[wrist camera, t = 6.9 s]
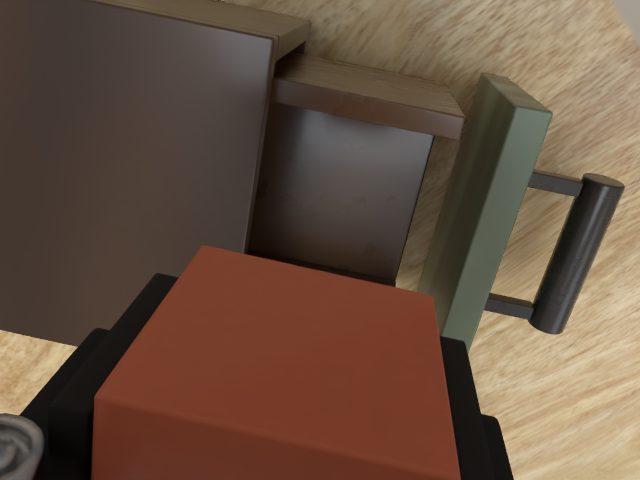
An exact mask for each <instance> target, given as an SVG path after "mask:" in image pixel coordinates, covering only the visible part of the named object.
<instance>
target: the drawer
mask: <svg viewBox="0 0 640 480" xmlns="http://www.w3.org/2000/svg"><path fill="white" fill-rule="evenodd" d="M552 116H553V113H552V112H551V111H550V110H548V109H547V108H546V107H544V106H543V105H542V104H541V103H539V102H538V101H537V100H535V99H534V98H533V97H532V96H530V95H529V94H528V93H526V92H525V91H524V90H523V89H521V88H520V87H519V86H517V85H516V84H515V83H514V82H512V81H511V80H510V79H508V78H507V77H502V76H497V75H492V74H487V73H481V75H480V78H479V82H478V85H477V89H476V92H475V95H474V99H473V102H472V106H471V109H470V112H469V116H468V119H467V123H466V126H465V130H464V133H463V136H462V140H461V143H460V147H459V150H458V153H457V157H456V160H455V164H454V167H453V170H452V174H451V177H450V181H449V184H448V188H447V191H446V194H445V198H444V201H443V205H442V208H441V211H440V215H439V218H438V222H437V225H436V228H435V232H434V235H433V239H432V242H431V246H430V249H429V252H428V256H427V259H426V263H425V266H424V269H423V273H422V276H421V280H420V283H419V287H418V290H417V292H418V293H422V294H427V295H430V296H432V297H433V298H434V305H435V311H436V318H437V325H438V331H439V336H444V337H448V338H453V339H457V340H462V341H464V342H465V344H466V348H467V353H469V350H470V347H471V344H472V341H473V339H474V336H475V333H476V330H477V327H478V324H479V322H480V319H481V316H482V313H483V310H486V311H491V312H495V313H500V314H505V315H509V316H514V317H519V318H523V319H527V320H528V322H529V323H530V324H531V325H532V326H533V327H535V328H536V329H538V330H540V331H542V332H545V333H548V334H560V333H562V332H563V331H564V328H565V326H566V324H567V321H568V319H569V317H570V314H571V312H572V310H573V307H574V305H575V303H576V300H577V298H578V296H579V293H580V291H581V289H582V286H583V284H584V282H585V279H586V277H587V275H588V272H589V270H590V268H591V265H592V263H593V261H594V258H595V256H596V254H597V251H598V249H599V247H600V245H601V242H602V240H603V238H604V235H605V233H606V231H607V228H608V226H609V224H610V221H611V219H612V217H613V214H614V212H615V210H616V207H617V205H618V203H619V200H620V198H621V196H622V193H623V191H624V189H625V186H624V184H622V183H621V182H619V181H617V180H615V179H612V178H610V177H607V176H603V175H599V174H593V173H586V174H584V175H583V177H582V179H581V180H580V179H579V178H575V177H570V176H565V175H560V174H555V173H551V172H546V171H541V170H536V169H534V167H535V164H536V161H537V158H538V155H539V152H540V150H541V147H542V144H543V141H544V138H545V135H546V133H547V130H548V127H549V124H550V121H551V119H552ZM465 120H466V117H465V115H464V114H463V112H462V110H461V109H460V107H459V105H458V103H457V102H456V100H455V98H454V97H453V95H452V93H451V92H450V90H449V88H448V87H447V85H446V84H445V83H440V82H436V81H431V80H426V79H421V78H416V77H411V76H406V75H402V74H397V73H392V72H387V71H382V70H377V69H373V68H368V67H363V66H358V65H353V64H348V63H343V62H339V61H334V60H329V59H324V58H319V57H314V56H309V55H305V54H300V53H295V52H289V53H287V54H286V55H285V56H283V57H282V58H280V59H279V60H277V61H276V62H275V68H274V74H273V81H272V88H271V95H270V102H269V109H268V116H267V122H266V129H265V136H264V143H263V150H262V157H261V164H260V170H259V177H258V184H257V191H256V198H255V205H254V212H253V218H252V225H251V232H250V239H249V246H248V253H247V255H251V256H256V257H260V258H265V259H269V260H274V261H278V262H283V263H287V264H292V265H296V266H301V267H305V268H310V269H314V270H319V271H323V272H328V273H332V274H337V275H341V276H346V277H350V278H355V279H359V280H364V281H368V282H373V283H377V284H382V285H386V286H391V287H395V288H396V282H395V280H396V277H397V273H398V269H399V266H400V262H401V258H402V255H403V251H404V247H405V244H406V240H407V236H408V233H409V229H410V225H411V222H412V218H413V214H414V211H415V207H416V203H417V200H418V196H419V192H420V189H421V185H422V181H423V178H424V174H425V170H426V167H427V163H428V159H429V156H430V152H431V148H432V145H433V141H434V137H435V136H438V137H443V138H448V139H452V140H459V139H460V137H461V134H462V131H463V127H464V124H465ZM527 187H531V188H536V189H541V190H545V191H550V192H555V193H560V194H565V195H569V196H574V199H573V202H572V204H571V207H570V210H569V212H568V215H567V217H566V220H565V222H564V225H563V227H562V230H561V232H560V235H559V237H558V240H557V243H556V245H555V248H554V250H553V253H552V255H551V258H550V260H549V263H548V265H547V268H546V270H545V273H544V276H543V278H542V281H541V283H540V286H539V288H538V291H537V293H536V296H535V298H534V301H533V303H532V302H530V301H526V300H521V299H516V298H512V297H507V296H502V295H498V294H493V293H490V291H491V288H492V285H493V282H494V279H495V277H496V274H497V271H498V268H499V265H500V262H501V260H502V257H503V254H504V251H505V248H506V245H507V243H508V240H509V237H510V234H511V231H512V229H513V226H514V223H515V220H516V217H517V214H518V212H519V209H520V206H521V203H522V200H523V198H524V195H525V192H526V189H527Z"/></svg>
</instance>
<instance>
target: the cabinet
mask: <svg viewBox="0 0 640 480" xmlns="http://www.w3.org/2000/svg"><path fill="white" fill-rule="evenodd" d="M310 28H311V20H308V19H303V18H298V17H293V16H288V15H283V14H279V13H274V12H269V11H264V10H259V9H254V8H249V7H244V6H240V5H235V4H230V3H225V2H220V1H215V0H0V330H4V331H8V332H13V333H17V334H22V335H26V336H31V337H35V338H40V339H45V340H49V341H54V342H58V343H63V344H67V345H72V346H76V347H78V346H79V345H80V344H81V343H82V342H83V341H84V339H85V338H86V337H87V336H88V335H89V334H90V333H91V332H92V331H93V330H94V329H96V328H102V329H106V330H110V329H111V328H112V327H113V326H114V324H115V323H116V322H117V321H118V319H119V318H120V317H121V316H122V315H123V313H124V312H125V311H126V310H127V308H128V307H129V306H130V305H131V303H132V302H133V301H134V300H135V298H136V297H137V296H138V295H139V293H140V292H141V291H142V290H143V289H144V287H145V286H146V285H147V284H148V282H149V281H150V280H151V279H152V277H153V276H154V275H155V274H156V273H162V274H166V275H170V276H175V277H180V276H181V274H182V273H183V271H184V270H185V269H186V267H187V266H188V264H189V263H190V262H191V260H192V259H193V257H194V256H195V255H196V253H197V252H198V250H199V249H200V248H201V246H205V245H206V246H211V247H215V248H220V249H224V250H229V251H233V252H238V253H242V254H247V253H248V246H249V239H250V232H251V225H252V218H253V212H254V205H255V198H256V191H257V184H258V177H259V170H260V164H261V157H262V150H263V143H264V136H265V129H266V122H267V116H268V109H269V102H270V95H271V88H272V81H273V74H274V68H275V62H276V61H277V60H279V59H280V58H282V57H283V56H285V55H286V54H287V53H289V52H295V53H300V54H305V55H306V52H307V46H308V40H309V34H310Z"/></svg>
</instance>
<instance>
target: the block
mask: <svg viewBox="0 0 640 480" xmlns="http://www.w3.org/2000/svg"><path fill="white" fill-rule="evenodd" d="M91 480H461V476H460V469H459V463H458V456H457V450H456V443H455V437H454V430H453V423H452V417H451V410H450V404H449V397H448V390H447V384H446V377H445V371H444V364H443V358H442V351H441V344H440V338H439V331H438V325H437V318H436V311H435V305H434V298H433V297H432V296H430V295H427V294H422V293H418V292H413V291H409V290H404V289H400V288H395V287H391V286H386V285H382V284H377V283H373V282H368V281H364V280H359V279H355V278H350V277H346V276H341V275H337V274H332V273H328V272H323V271H319V270H314V269H310V268H305V267H301V266H296V265H292V264H287V263H283V262H278V261H274V260H269V259H265V258H260V257H256V256H251V255H247V254H242V253H238V252H233V251H229V250H224V249H220V248H215V247H211V246H206V245H205V246H201V248H200V249H199V250H198V252H197V253H196V255H195V256H194V257H193V259H192V260H191V262H190V263H189V264H188V266H187V267H186V269H185V270H184V271H183V273H182V274H181V276H180V277H179V278H178V280H177V281H176V283H175V284H174V285H173V287H172V288H171V290H170V291H169V292H168V294H167V295H166V297H165V298H164V299H163V301H162V302H161V304H160V305H159V306H158V308H157V309H156V311H155V312H154V313H153V315H152V316H151V318H150V319H149V320H148V322H147V323H146V325H145V326H144V327H143V329H142V330H141V332H140V333H139V334H138V336H137V337H136V339H135V340H134V341H133V343H132V344H131V346H130V347H129V348H128V350H127V351H126V353H125V354H124V355H123V357H122V358H121V359H120V361H119V362H118V364H117V365H116V366H115V368H114V369H113V371H112V372H111V373H110V375H109V376H108V378H107V379H106V380H105V382H104V383H103V385H102V386H101V387H100V389H99V390H98V392H97V393H96V395H95V397H94V420H93V447H92V473H91Z"/></svg>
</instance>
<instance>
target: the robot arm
mask: <svg viewBox="0 0 640 480" xmlns="http://www.w3.org/2000/svg"><path fill="white" fill-rule="evenodd" d="M178 278H179V277H175V276H170V275H166V274H162V273H156V274H155V275H154V276H153V277H152V279H151V280H150V281H149V282H148V284H147V285H146V286H145V287H144V289H143V290H142V291H141V292H140V293H139V295H138V296H137V297H136V298H135V300H134V301H133V302H132V303H131V305H130V306H129V307H128V308H127V310H126V311H125V312H124V313H123V315H122V316H121V317H120V318H119V319H118V321H117V322H116V323H115V324H114V326H113V327H112V328H111V329H110V330H106V329H102V328H96V329H94V330H93V331H92V332H91V333H90V334H89V335H88V336H87V337H86V338H85V339H84V341H83V342H82V343H81V344H80V345H79V346H78V348H77V349H76V350H75V351H74V352H73V353H72V355H71V356H70V357H69V358H68V359H67V360H66V362H65V363H64V364H63V365H62V366H61V367H60V369H59V370H58V371H57V372H56V373H55V374H54V376H53V377H52V378H51V379H50V380H49V381H48V383H47V384H46V385H45V386H44V387H43V388H42V390H41V391H40V392H39V393H38V394H37V395H36V397H35V398H34V399H33V400H32V401H31V402H30V404H29V405H28V406H27V407H26V408H25V409H24V411H23V412H22V413H21V414H20V415H13V414H7V413H3V414H0V480H91V473H92V447H93V420H94V397H95V395H96V393H97V392H98V390H99V389H100V387H101V386H102V385H103V383H104V382H105V380H106V379H107V378H108V376H109V375H110V373H111V372H112V371H113V369H114V368H115V366H116V365H117V364H118V362H119V361H120V359H121V358H122V357H123V355H124V354H125V353H126V351H127V350H128V348H129V347H130V346H131V344H132V343H133V341H134V340H135V339H136V337H137V336H138V334H139V333H140V332H141V330H142V329H143V327H144V326H145V325H146V323H147V322H148V320H149V319H150V318H151V316H152V315H153V313H154V312H155V311H156V309H157V308H158V306H159V305H160V304H161V302H162V301H163V299H164V298H165V297H166V295H167V294H168V292H169V291H170V290H171V288H172V287H173V285H174V284H175V283H176V281H177V280H178ZM439 338H440V344H441V351H442V358H443V364H444V371H445V377H446V384H447V390H448V397H449V404H450V410H451V417H452V423H453V430H454V437H455V443H456V450H457V456H458V463H459V469H460V476H461V480H514V479H513V475H512V471H511V467H510V463H509V459H508V455H507V452H506V448H505V444H504V440H503V436H502V432H501V428H500V425H499V422H498V420H497V419H496V418H495V417H492V416H488V415H483V414H481V412H480V407H479V403H478V398H477V394H476V389H475V385H474V380H473V376H472V371H471V366H470V362H469V357H468V353H467V348H466V344H465V342H464V341H462V340H457V339H453V338H448V337H444V336H439Z"/></svg>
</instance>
